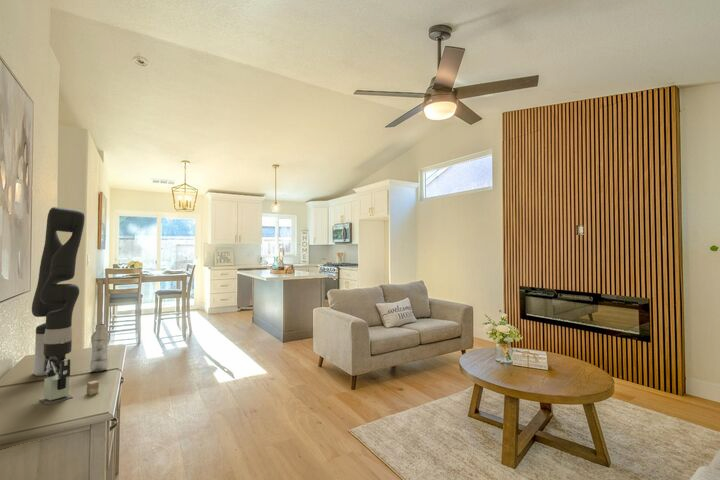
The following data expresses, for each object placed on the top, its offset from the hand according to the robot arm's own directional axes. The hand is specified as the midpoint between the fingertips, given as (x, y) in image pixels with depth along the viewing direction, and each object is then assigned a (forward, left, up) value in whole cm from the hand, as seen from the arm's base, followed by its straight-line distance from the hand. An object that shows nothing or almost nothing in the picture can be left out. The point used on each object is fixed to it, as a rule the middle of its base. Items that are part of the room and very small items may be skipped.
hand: (56, 386), depth 123 cm
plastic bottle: (-20, +22, -5) cm, 30 cm away
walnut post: (0, 0, -4) cm, 4 cm away
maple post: (+5, +9, -4) cm, 11 cm away
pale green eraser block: (0, 0, -3) cm, 3 cm away
